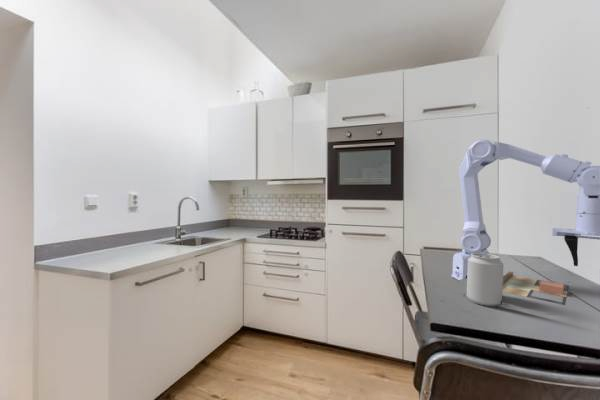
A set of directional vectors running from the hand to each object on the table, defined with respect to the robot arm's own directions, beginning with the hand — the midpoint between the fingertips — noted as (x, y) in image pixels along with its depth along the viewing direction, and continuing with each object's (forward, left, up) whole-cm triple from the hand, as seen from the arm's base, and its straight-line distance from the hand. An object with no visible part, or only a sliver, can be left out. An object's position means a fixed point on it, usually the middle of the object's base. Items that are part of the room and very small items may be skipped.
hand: (590, 267), depth 70 cm
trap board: (-8, +8, -9) cm, 14 cm away
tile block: (-5, +5, -8) cm, 11 cm away
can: (-26, 0, -10) cm, 28 cm away
